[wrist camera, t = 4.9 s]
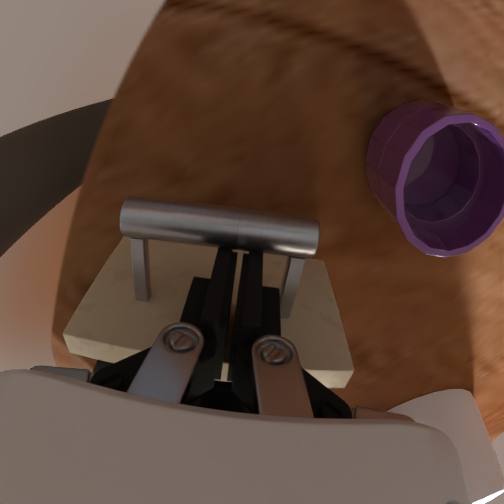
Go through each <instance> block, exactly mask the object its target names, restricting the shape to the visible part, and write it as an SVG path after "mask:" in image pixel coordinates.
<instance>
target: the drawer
mask: <svg viewBox="0 0 504 504" xmlns="http://www.w3.org/2000/svg"><path fill="white" fill-rule="evenodd" d="M119 224H120V231H121V233H122V235H124V236H123V238H122V239H121V241H120V242H119V244H118V245H117V247H116V248H115V250H114V251H113V252H112V254H111V255H110V257H109V258H108V260H107V261H106V263H105V264H104V266H103V267H102V269H101V271H100V272H99V274H98V275H97V277H96V278H95V280H94V281H93V283H92V285H91V286H90V288H89V289H88V291H87V293H86V294H85V296H84V297H83V299H82V301H81V302H80V304H79V306H78V307H77V309H76V311H75V312H74V314H73V316H72V317H71V319H70V321H69V323H68V324H67V326H66V328H65V330H64V331H63V336H64V339H65V342H66V344H67V347H68V350H69V352H70V353H73V354H77V355H81V356H85V357H89V358H93V359H97V363H96V365H95V367H94V370H93V373H96V372H97V371H98V370H100V369H102V368H104V367H106V366H108V365H111V364H113V363H115V362H118V361H120V360H122V359H125V358H127V357H129V356H131V355H134V354H136V353H138V352H140V351H143V350H145V349H147V348H149V347H152V345H153V344H154V342H155V340H156V338H157V337H158V335H159V333H160V332H161V330H162V329H163V328H164V327H166V326H167V325H169V324H173V323H178V322H179V321H180V318H181V315H182V312H183V308H184V305H185V302H186V299H187V296H188V292H189V289H190V286H191V283H192V280H193V277H194V276H195V277H202V278H209V279H210V278H211V274H212V270H213V266H214V262H215V259H216V255H217V251H218V248H226V249H233V252H238V255H237V263H236V271H235V279H234V287H233V295H232V303H231V311H230V318H229V325H228V331H227V338H226V345H225V353H224V360H223V367H222V374H221V380H217V379H215V382H214V387H213V388H211V389H210V390H208V391H206V392H205V393H203V394H202V400H201V402H200V405H199V407H202V408H209V409H216V410H223V411H231V412H239V413H241V406H240V402H241V399H240V398H239V397H238V396H237V395H236V394H235V393H234V392H233V391H232V382H231V381H227V374H228V365H229V357H230V349H231V341H232V333H233V325H234V317H235V309H236V302H237V295H238V288H239V280H240V273H241V266H242V259H243V253H245V254H249V251H251V252H259V253H263V284H262V286H267V287H275V288H279V291H280V317H281V336H282V337H284V338H286V339H288V340H289V341H291V342H292V343H293V344H294V346H295V347H296V350H297V352H298V356H299V360H300V364H301V367H302V368H303V369H305V370H306V371H307V372H308V373H310V374H311V375H312V376H313V377H314V378H316V379H317V380H318V381H319V382H321V383H322V384H323V385H324V386H326V387H327V388H345V386H346V385H347V383H348V381H349V379H350V378H351V376H352V374H353V372H354V367H353V363H352V359H351V355H350V351H349V347H348V344H347V340H346V336H345V332H344V328H343V325H342V321H341V317H340V314H339V310H338V307H337V303H336V300H335V296H334V293H333V289H332V286H331V282H330V279H329V276H328V272H327V269H326V266H325V262H324V260H318V259H311V258H313V257H314V255H315V253H316V251H317V248H318V243H319V235H320V227H319V221H318V219H316V218H313V217H306V216H299V215H292V214H285V213H277V212H270V211H262V210H254V209H246V208H238V207H230V206H221V205H213V204H204V203H195V202H185V201H176V200H166V199H156V198H145V197H134V196H129V197H127V198H126V199H125V200H124V202H123V204H122V207H121V211H120V219H119Z"/></svg>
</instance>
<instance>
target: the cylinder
mask: <svg viewBox="0 0 504 504" xmlns="http://www.w3.org/2000/svg"><path fill="white" fill-rule="evenodd" d="M386 412H392V413H397V414H403V415H406V416H409V417H411V418H412V419H413V420H414V421H415V422H418V423H421V424H425V425H428V426H431V427H434V428H436V429H438V430H440V431H442V432H443V433H445V434H446V435H447V436H448V437H449V438H450V439H451V440H452V442H453V444H454V445H455V447H456V449H457V452H458V454H459V456H460V459H461V462H462V465H463V468H464V471H465V475H466V478H467V482H468V486H469V491H470V495H471V500H472V504H484V503H486V502H488V501H490V500H491V499H493V498H495V497H496V496H498V495H500V494H501V493H503V492H504V477H503V474H502V471H501V468H500V465H499V462H498V459H497V456H496V453H495V450H494V447H493V444H492V442H491V439H490V436H489V434H488V431H487V429H486V426H485V423H484V421H483V418H482V416H481V414H480V411H479V409H478V406H477V404H476V402H475V399H474V397H473V395H472V394H471V392H470V391H467V390H464V389H448V390H443V391H437V392H433V393H430V394H427V395H424V396H421V397H417V398H415V399H412V400H410V401H407V402H405V403H403V404H400V405H398V406H395V407H393V408H392V409H390V410H388V411H386Z"/></svg>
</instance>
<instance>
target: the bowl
mask: <svg viewBox="0 0 504 504" xmlns="http://www.w3.org/2000/svg"><path fill="white" fill-rule="evenodd" d="M365 163H366V170H367V178H368V184H369V187H370V189H371V190H372V192H373V194H374V196H375V197H376V199H377V201H378V203H379V204H380V205H381V207H382V208H383V209H384V210H385V212H386V213H387V214H388V216H389V217H390V218H391V219H392V221H393V222H394V223H395V225H396V226H397V227H398V229H399V230H400V231H401V233H402V234H403V235H404V237H405V238H406V239H407V240H408V242H410V243H411V244H412V245H414V246H415V247H416V248H418V249H419V250H420V251H422V252H423V253H424V254H427V255H433V256H439V257H446V258H447V257H451V256H455V255H459V254H462V253H466V252H468V251H470V250H472V249H473V248H475V247H476V246H478V245H479V244H480V243H482V242H483V241H484V240H486V239H487V238H488V237H489V236H490V235H491V233H492V232H493V231H494V229H495V228H496V227H497V226H498V224H499V223H500V221H501V220H502V219H503V217H504V138H503V136H502V135H501V134H500V132H499V131H498V130H497V128H496V127H495V126H494V124H492V123H491V122H489V121H487V120H485V119H483V118H481V117H479V116H477V115H475V114H472V113H470V112H466V111H463V110H460V109H457V108H454V107H450V106H447V105H443V104H440V103H436V102H432V101H428V100H425V101H414V102H407V103H404V104H403V105H401V106H399V107H398V108H396V109H395V110H393V111H391V112H390V113H388V114H387V115H386V116H385V117H384V118H383V119H382V121H381V122H380V124H379V125H378V127H377V128H376V130H375V131H374V132H373V134H372V136H371V139H370V143H369V147H368V152H367V156H366V162H365Z"/></svg>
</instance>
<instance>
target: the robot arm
mask: <svg viewBox="0 0 504 504" xmlns="http://www.w3.org/2000/svg"><path fill="white" fill-rule="evenodd" d="M237 255H238V252H233V249H226V248H218V251H217V255H216V259H215V262H214V266H213V270H212V274H211V278H210V279H209V278H202V277H195V276H194V277H193V280H192V283H191V286H190V289H189V292H188V296H187V299H186V302H185V305H184V308H183V312H182V315H181V318H180V321H179V322H178V323H173V324H169V325H167V326H166V327H164V328H163V329H162V330H161V332H160V333H159V335H158V337H157V338H156V340H155V342H154V344H153V345H152V347H149V348H147V349H145V350H143V351H140V352H138V353H136V354H134V355H131V356H129V357H127V358H125V359H122V360H120V361H118V362H115V363H113V364H111V365H108V366H106V367H104V368H102V369H100V370H98V371H97V372H96V373H90V371H89V369H75V368H62V367H51V366H35V367H33V368H31V369H30V370H27V369H20V370H7V371H3V372H0V504H472V500H471V495H470V491H469V486H468V482H467V478H466V475H465V471H464V468H463V465H462V462H461V459H460V456H459V454H458V452H457V449H456V447H455V445H454V444H453V442H452V440H451V439H450V438H449V437H448V436H447V435H446V434H445V433H443V432H442V431H440V430H438V429H436V428H434V427H431V426H428V425H425V424H421V423H418V422H415V421H414V420H413V419H412V418H411V417H409V416H406V415H403V414H397V413H392V412H386V411H381V410H375V409H370V408H365V407H360V406H356V407H355V408H351V407H349V406H348V405H347V404H346V403H345V402H344V401H343V400H342V399H341V398H340V397H338V396H337V395H336V394H335V393H333V392H332V391H331V390H329V389H328V388H327V387H326V386H324V385H323V384H322V383H321V382H319V381H318V380H317V379H316V378H314V377H313V376H312V375H311V374H310V373H308V372H307V371H306V370H305V369H303V368H302V367H301V364H300V360H299V356H298V352H297V350H296V347H295V346H294V344H293V343H292V342H291V341H289V340H288V339H286V338H284V337H282V336H281V317H280V291H279V288H275V287H267V286H262V284H263V253H259V252H251V251H249V254H245V253H243V259H242V266H241V273H240V280H239V288H238V295H237V302H236V309H235V317H234V325H233V333H232V341H231V349H230V357H229V365H228V374H227V381H231V382H232V391H233V392H234V393H235V394H236V395H237V396H238V397H239V398H240V399H241V402H240V406H241V413H239V412H231V411H223V410H216V409H209V408H202V407H199V405H200V402H201V400H202V394H203V393H205V392H206V391H208V390H210V389H211V388H213V387H214V382H215V379H217V380H221V374H222V367H223V360H224V353H225V345H226V338H227V331H228V325H229V318H230V311H231V303H232V295H233V287H234V279H235V271H236V263H237Z"/></svg>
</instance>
